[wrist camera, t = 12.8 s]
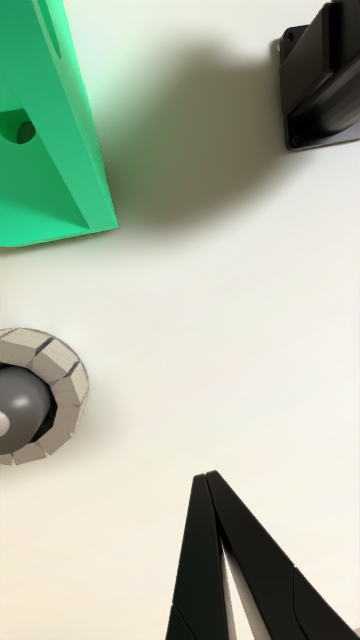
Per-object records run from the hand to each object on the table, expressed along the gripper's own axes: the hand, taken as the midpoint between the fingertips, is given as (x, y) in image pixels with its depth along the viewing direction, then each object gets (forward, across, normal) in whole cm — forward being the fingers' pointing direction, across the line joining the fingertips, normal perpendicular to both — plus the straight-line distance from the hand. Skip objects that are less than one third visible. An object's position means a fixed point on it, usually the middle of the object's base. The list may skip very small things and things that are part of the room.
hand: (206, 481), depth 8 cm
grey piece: (+12, +12, 0) cm, 17 cm away
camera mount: (+12, +6, -16) cm, 21 cm away
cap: (+12, +12, 0) cm, 17 cm away
